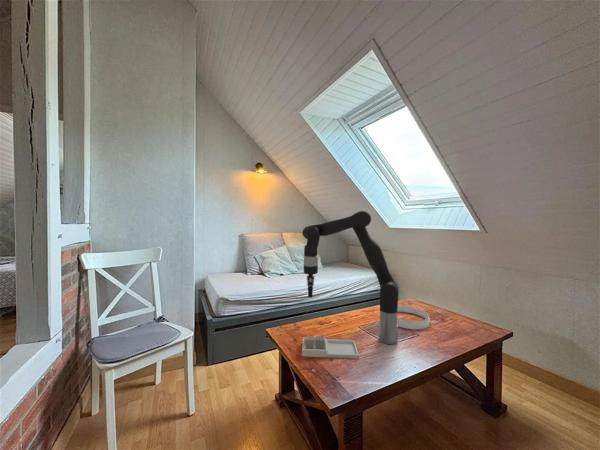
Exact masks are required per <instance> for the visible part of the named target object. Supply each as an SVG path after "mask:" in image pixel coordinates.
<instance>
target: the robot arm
mask: <svg viewBox="0 0 600 450" xmlns="http://www.w3.org/2000/svg"><path fill="white" fill-rule="evenodd" d="M371 222H372V217H371V215H370V213H369V212H368V211H365V210H360V211H358V212H355V213H353V214H352V215H351V216H347V217H344V218H339V219H335V220H329V221H327V222H322V223H320V224H319V223H317V224H313V225H308V226H306V227H304V228H303V229H302V236H303V238H305V239H306V240H307V241H306V244H305V245H304V248H303V273H304V274H305V275H306V286H307V292H308V293H307V295H308V296H307V297H308V298H312V297H313V291H314V288H313V287H314V285H315V284H314V283H315V276H314V275H316V274H318V273H319V270H318V269H319V268H318V267H319V257H318V248H319V243H320V240H321V239H320V237H326V236H330V235H334V234H337V233H340V232H343V231H345V230H348V229H352V230H353V232H354V233H355V235H356V237H357V239H358V241H359V243H360V244H359V245H360V246H361V248H362V251H363V253H364V255H365V257H366V260H367V263H368V264H369V266H370V267H371V269H372V270H373V272H374V274H375V277H377V280H378V284H379V288H380V289H379V322H378V323H379V326H378V340H379V342H380V343H383V344H384V345H395V344H398V339H399V326H397V317H398V312H397V308H398V305H399V290H398V285H397V283H396V282H395V281H394V279H393V276H392V275H391V273H390V270H389V269H388V264H387V262H386V259H385V255H384V253H383V251H382V249H381V246H380V245H379V244H378V243H377V242H376V240H375V239H374V238H373V237H372V236H371V235H370V233H369V232H368V229H367V228H366V227H367V226H369V225H370V224H371Z"/></svg>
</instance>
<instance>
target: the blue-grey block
mask: <svg viewBox="0 0 600 450" xmlns="http://www.w3.org/2000/svg"><path fill="white" fill-rule="evenodd" d="M315 337H316V349H318V350H324V339H323V338H324V336H322V335H321V336H318V335H317V336H315Z"/></svg>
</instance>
